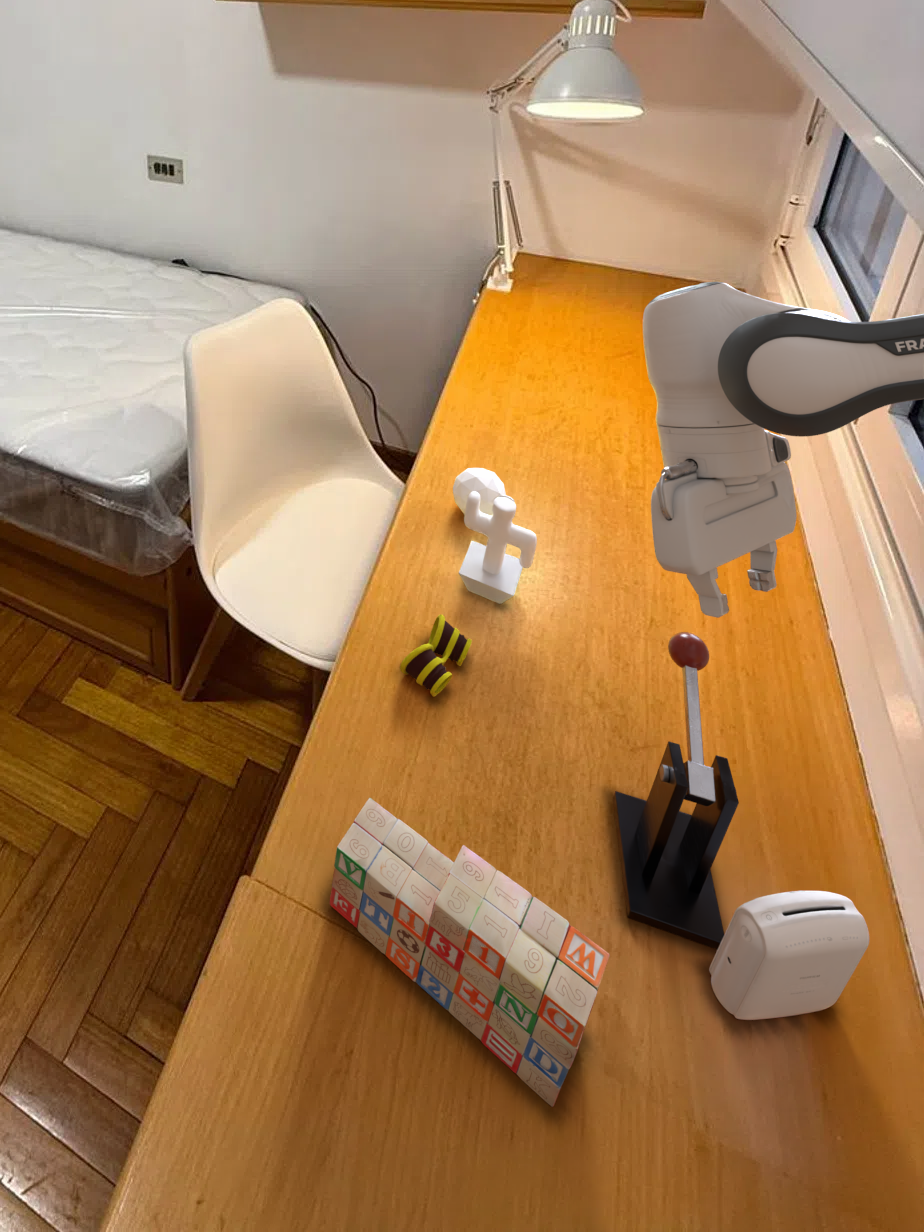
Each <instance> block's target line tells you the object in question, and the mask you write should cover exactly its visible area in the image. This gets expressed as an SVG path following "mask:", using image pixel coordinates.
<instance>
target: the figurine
mask: <svg viewBox="0 0 924 1232" xmlns="http://www.w3.org/2000/svg"><path fill="white" fill-rule="evenodd" d="M480 499H481V497H480V494H479V493H478V492H475V491H473V492H471V493H470V494H469V496H468V499H467V504H466V509H465V515H464V514H463V524H464V526H465V527H466V528H467V529H469V530H471V531H474V532H476V533H479V534H481V535H483V536H486V537H487V540H486V545H485V544H482V543H481V542H477V541H475V540H471V541H470V544H469V546H468V549H467V551H466V554H465V556H464V558H463V560H462V563H461V566H460V568H459V571H458V575H459V577H460V579H461V580H462V582H463V584H464V586H465V588H466V590H467V591H468V592H471V593H473V594H475V595H477V596H479V597H482V598H485V599H487V600H490V601H492V602H494V603H496V604H499V605H501V604H503V603H505V602H506V601H508V600H509V599H511V598H512V597H514V596H515V593H516V590H517V587H518V585H519V581H520V579H521V574H522V571H523V569H530V568H531V567H532V565H533V562H534V559H535V554H536V550H537V546H538V537H537V534H536V533H535V532H534V531H532V530H531V529H527V528H525V527H523V526H520V525H517V524H514V523H513V519H514V518H515V517H516V511H517V504H516V502H515V499H514V498H513V497H511V496H509V495H507V494H506V495H500V496H499V497H497V498H495V500H494V503H493V508H492V511H493V515H487V514H485V513H482V512H481V511H480V510H479V505H480ZM508 545H511V546H512V547H516V548H518V549H519V550H520V554H519V555H520V556H519V558H518V557H516V556H513V555H512V554H508V553H506V551H507V546H508Z"/></svg>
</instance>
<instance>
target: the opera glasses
mask: <svg viewBox="0 0 924 1232" xmlns="http://www.w3.org/2000/svg"><path fill="white" fill-rule="evenodd" d="M472 643H473V640H472V638H469V637H468V638H466V637H465V634H461V631H460V630H459V629H458V628H457V627H456V626H452V624H450V623H449V622H448V621H446V616H445V615H444V614H441V613H440V614H438V615H437V616H436V618H435V620H434V622H433V624H432V627H431V631H430V635H429V638H428V642H427V643H424V644H421V645H419V646H418V647H416V648H414V649H413V650H412V651H411V652H409V653H408V654H407V655H406V656H405V657H404V658H403V660H402V661H401V663H400V665H399V670H400V672H401V673H402V674H403V675H409V676H410V677H412V678H413V679H414V680H416V681H415V682H416V683H417V684H418V685H419V686H421V687H424V689H425V690H429V693H430V695H431V696H432V697H433V698H435V697H436V696H437V695H439V694H440V693H441V692H442V691H443V690H444V689H445V688H446V687H447V686H448V684H450V682H451V680H452V679H453V674H452V673H451V671H447V668H446V666H444V665H445V664H446V662H447V661H448V660H450V661H451V662H456V665H457V666H459V667H461V666H462V665H463V663H464V661H465V659H466V657H467V655H468V653H469V650H470V648H471V645H472ZM437 655H438V656H437Z"/></svg>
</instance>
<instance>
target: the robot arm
mask: <svg viewBox="0 0 924 1232" xmlns="http://www.w3.org/2000/svg"><path fill="white" fill-rule="evenodd" d="M642 340H643V352H644V358H645V365H646V373H647V377H648V381H649V384H650V385H651V387H652V389H653V391H654V394H655V398H656V399H655V400H656V413H655V424H656V430H657V435H658V441H659V446H660V447H659V448H660V453H661V459H662V464H663V468H662V470H660V471H661V472H660V474H661V475H660V477H659V480H658V482H656V484H655V487H654V488H653V489H652V492H651V498H650V515H651V518H650V519H651V529H652V530H651V531H652V540H653V548H654V554H655V558H656V561H657V562H658V564H659V565H660V567H661V568H662V569H663V570H665V571H667V572H670V573H671V572H672V573H677V574H683V575H686V578H687V580H688V582H689V583H690V585H691V587H692V588H693V589H694V591H695V593H696V594H697V595H698V601H699V607H700V611H701V613H702V614H704V616H708V617H713V618H721V617H724V616H725V615H726V614H728V613H729V612H730V606H729V605H728V603H729V601H728V595H727V594H726V593H722V592H721V590H720V587H719V585H718V583H717V579H719V573H718V568H719V567H721V566H723V565H725V564H728V563H730V562H732V561H734V560H736V559H739V558H740V557H743V556H745V555H747V554H749V553H750V568H749V569H748V570H746V572H747V578H748V580H749V581H748V583H749V586H750V588H751V589H752V590H754V591H759V592H760V591H761V592H765V593H768V592H770V591H772V590H774V589H776V588H777V585H778V584H777V580H776V574H775V570H776V562H777V555H778V546H777V540H779V539H781V538H784V537H785V536H788V535H790V534H792V533H793V532H794V531H795V528H796V524H797V505H796V499H795V491H794V485H793V479H792V474H791V471H790V468H789V465H788V464H787V463H786V462H788V461H790V460H791V458H792V450H791V446H790V442H789V439H787V437H788V436H789V437H798V438H799V437H804V438H805V437H814V436H819V435H824V434H828V433H831V432H834V431H837V430H838V429H841V428H842V427H845V426H847V425H848V424H851V423H852V422H855V421H856V420H858V419H859V418H861V417H863V416H865V415H867V414H870V413H871V412H873V411H876V410H878V409H880V408H883V407H886V406H890V405H894V404H900V403H905V402H912V401H913V402H914V401H920V400H924V313H922V314H916V315H909V316H903V317H896V318H890V319H884V320H875V321H851V320H848V318H845V317H842V316H841V315H838V314H835V313H832V312H829V311H825V310H819V309H813V308H807V307H801V306H796V305H790V304H784V303H781V302H776V301H772V300H768V299H765V298H761V297H758V296H755V295H752V294H750V293H746V292H744V291H742V290H738V289H737V288H735V287H733V286H731V285H729V284H728V283H726V282H721V281H708V282H701V283H699V284H695V285H689V286H685V287H681V288H677V289H674V290H671V291H668V292H664V293H661V294H659V295H657V296H655V297H654V298H653V299H652V300H650V301H649V302H648V304H647V305H646V306H645V308H644V311H643V315H642ZM778 434H779V435H778ZM781 435H782V436H781ZM783 435H784V436H787V437H784V436H783Z"/></svg>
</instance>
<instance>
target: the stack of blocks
mask: <svg viewBox="0 0 924 1232" xmlns="http://www.w3.org/2000/svg"><path fill="white" fill-rule="evenodd" d="M333 866H334V869H333V876H332V881H331V891H330V896H329V906H331V908H333V909H334V910H335V911H336V912H337V913H338V914H340V916H341V917H343V918H344V919H346V921H347V922H349V924H351V925H352V926H353V927H354V928H356V929H357V931H358V933H360V935H361V936H363V937H364V938H365V940H367V941H368V942H369V943H371V944H372V945H373V946H374V947H375V948H376V949H377V950H378V951H380V952H381V953H382V954H383V955H385V956H386V958H387V959H388V960H389V961H390V962H392V963H393V964H394V966H396V967H397V968H398V969H399V970H400V971H401V972H402V973H404V974H405V976H407V977H408V978H409V979H410V980H411V981H412V982H414V983H416V984H417V985H418V986H419V987H420V988H421V989H423V991H425V992H426V993H427V994H428V995H429V996H430V997H431V998H433V1000H434V1001H436V1002H437V1003H438V1004H439V1005H440V1006H441V1007H442V1008H444V1010H446V1011H448V1012H449V1014H450V1015H452V1016H453V1017H454V1018H455V1019H456V1020H457V1021H458V1022H459V1023H461V1024H462V1025H463V1027H465V1028H466V1029H467V1030H468V1031H469V1032H471V1033H472V1034H473V1036H475V1038H477V1040H480V1042H481V1043H482V1045H483V1046H485V1048H486V1049H488V1050H489V1051H490V1052H491V1053H492V1054H493V1055H494V1056H495V1057H497V1058H498V1059H499V1060H500V1061H501V1062H502V1063H503V1064H504V1065H505V1066H506V1067H507V1068H508V1069H509V1070H511V1072H513V1073H514V1074H516V1075H517V1076H518V1078H519V1079H520V1080H521V1081H522V1082H524V1083H525V1085H527V1086H528V1087H529V1088H530V1089H531V1090H532V1091H533V1092H534V1093H536V1094H537V1095H538V1096H539V1097H540V1098H541V1099H542V1100H543V1101H544V1102H545V1103H547V1104H548V1105H549V1106H550V1107H552V1108H554V1106H555V1104H556V1101H557V1099H558V1097H559V1094H560V1091H561V1089H562V1086H563V1085H564V1081H565V1079H566V1077H567V1075H568V1072H569V1070H570V1069H571V1067H572V1066H573V1063H574V1060H575V1058H576V1056H577V1053H578V1051H579V1048H580V1045H581V1041H582V1038H583V1035H584V1032H585V1029H586V1027H587V1024H588V1021H589V1018H590V1016H591V1013H592V1010H593V1007H594V1005H595V1001H596V998H597V995H598V991H599V988H600V985H601V982H602V980H603V977H604V974H605V972H606V971H605V970H606V969H607V966H608V962H609V959H610V953H609V952H608V951H606V950H605V949H603V948H602V946H600V945H598V944H597V943H595V942H594V941H593V940H592V939H590V938H589V937H588V936H587V935H585V934H584V933H582V932H581V931H580V930H578V929H577V928H576V927H574V926H573V925H571V924H570V922H569V920H568V919H566V918H564V917H563V916H562V915H561V914H559V913H558V912H557V911H555V910H554V909H552V908H551V907H549V906H548V905H547V904H546V903H544V902H543V901H541V900H540V899H539V898H537V897H536V896H532V894H531V893H530V892H529V891H528V890H526V888H525V887H523V886H521V885H520V884H519V883H517V882H516V881H514V880H513V879H511V878H510V877H509V876H507V875H506V874H505V873H503V872H502V871H500V870H498V869H496V867H494V866H493V865H492V864H490V863H489V862H487V861H486V860H485V859H484V858H482V857H481V856H480V855H478V854H477V853H475V851H473V850H471V849H470V848H468V847H467V846H466V845H464V844H462V846H461V848H460V850H459V852H458V854H457V856H456V858H455V860H454V861H453V860H452V859H451V858H449V857H448V856H447V855H445V854H444V853H443V852H441V851H440V850H439V849H437V848H436V847H435V846H434V845H432V844H431V843H429V841H428V840H427V839H426V838H425V837H424V836H422V835H421V834H420V833H418V832H417V831H416V830H414V829H413V828H412V827H410V826H409V825H407V823H405V822H404V821H403V820H401V819H400V818H397V817H396V816H394V815H393V814H392V813H391V812H390V811H388V810H387V809H385V808H384V807H383V806H382V805H381V804H379V803H378V802H377V801H375V800H374V799H373V798H371V797H368V799H367V800H366V802H365V803H364V805H363V806H362V808H361V809H360V810H359V812H358V813H357V815H356V816H355V818H354V820H353V822H352V824H351V825H350V827H349V828H348V829H347V831H346V833H345V834H344V835H343V837H342V838H341V840H340V842H339V843H338V844H337V846H336V850H335V857H334V864H333Z"/></svg>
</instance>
